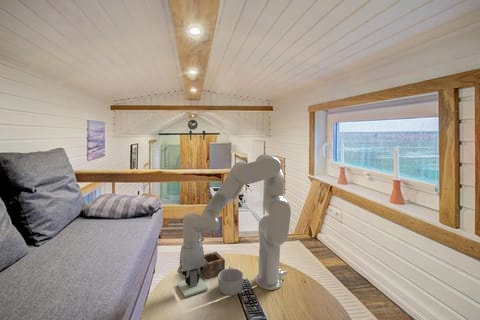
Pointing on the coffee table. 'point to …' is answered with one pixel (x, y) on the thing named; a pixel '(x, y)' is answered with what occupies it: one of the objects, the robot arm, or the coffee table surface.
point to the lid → (192, 284)
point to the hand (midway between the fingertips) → (192, 282)
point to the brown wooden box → (213, 265)
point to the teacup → (230, 281)
